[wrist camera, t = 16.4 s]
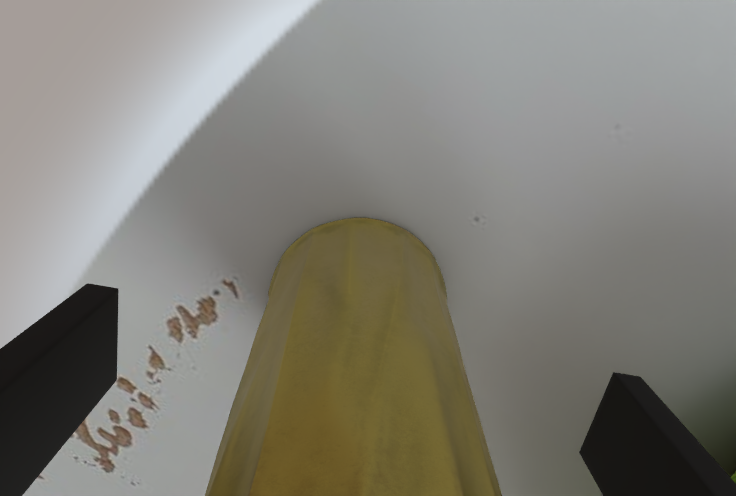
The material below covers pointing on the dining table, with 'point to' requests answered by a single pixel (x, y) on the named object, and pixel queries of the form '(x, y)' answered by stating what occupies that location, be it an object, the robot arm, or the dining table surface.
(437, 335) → the vase
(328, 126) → the dining table surface
